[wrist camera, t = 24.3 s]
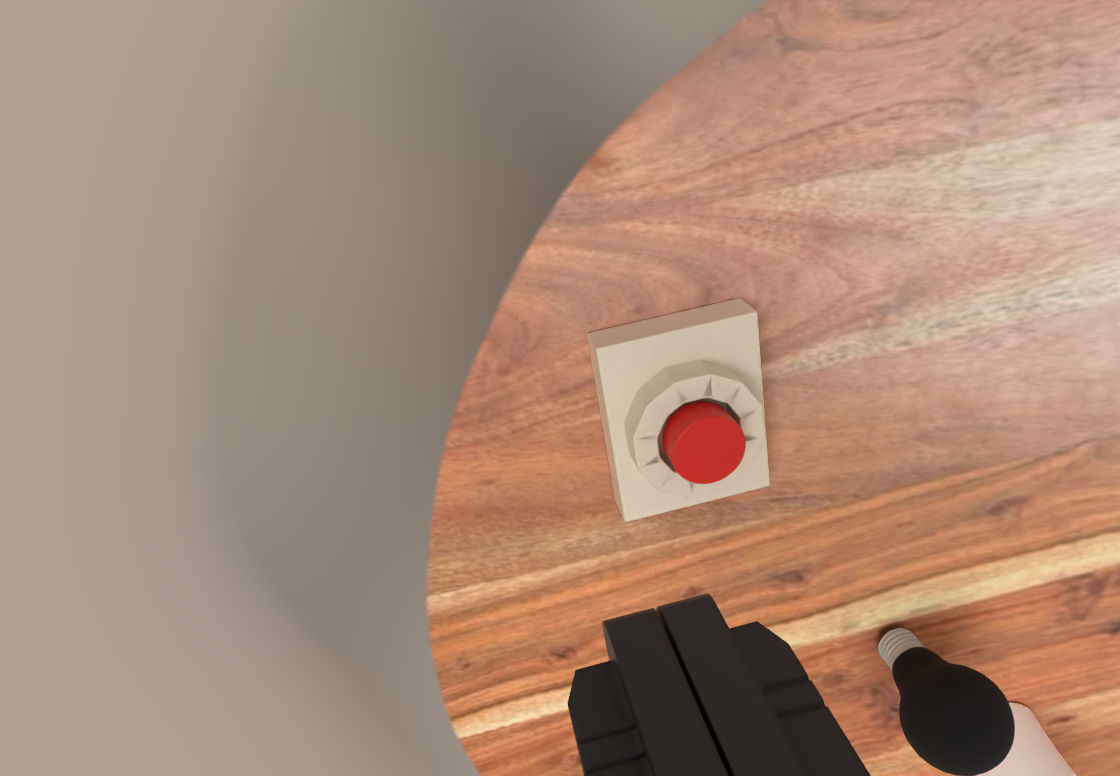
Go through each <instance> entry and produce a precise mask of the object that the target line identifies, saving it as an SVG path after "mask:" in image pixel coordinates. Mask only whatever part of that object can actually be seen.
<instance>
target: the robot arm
mask: <svg viewBox="0 0 1120 776" xmlns="http://www.w3.org/2000/svg"><path fill="white" fill-rule="evenodd" d="M603 630H604V636H605V641H606V646H607V651H608V656H609V661H608V662H604V663H600V664H597V665H593V666H589V667H585V668H582V669H578V670H576V671H575V675H574V679H573V683H572V687H571V692H570V696H569V700H568V708H569V712H570V716H571V721H572V725H573V729H574V734H575V738H576V742H577V747H578V751H579V755H580V760H581V764H582V769H583V773H584V776H870V774H869V772H868V771H867V769H866V768H865V766H864V764H863V763H862V761H861V760H860V758H859V756H858V755H857V753H856V752H855V750H854V748H853V747H852V745H851V744H850V742H849V740H848V739H847V737H846V736H845V734H844V732H843V731H842V729H841V728H840V726H839V724H838V723H837V721H836V719H835V718H834V716H833V715H832V713H831V711H830V710H829V708H828V707H826V706H825V704H824V701H823V699H822V697H821V695H820V694H819V692H818V691H817V689H816V687H815V686H814V684H813V683H812V681H809V679H808V676H807V673H806V671H805V670H804V668H803V667H802V665H801V663H800V662H799V660H798V659H797V657H796V655H795V654H794V652H793V651H792V649H791V647H790V646H789V644H788V643H787V642H785V641H784V640H782V639H781V638H780V637H778V636H777V635H775V634H774V633H773V632H771V631H770V630H769V629H767V628H766V627H764V626H763V625H762V624H760V623H759V622H757V621H756V622H753V623H749V624H745V625H741V626H738V627H734V628H730V629H729V627H728V626H727V624H726V622H725V620H724V618H723V616H722V614H721V613H720V611H719V609H718V607H717V605H716V603H715V602H714V600H713V598H712V597H711V596H710V595H709V594H703V595H700V596H696V597H692V598H688V599H684V600H681V601H677V602H673V603H669V604H665V605H662V606H658V607H657V609H656V610H655V609H654V608H651V609H647V610H643V611H640V612H636V613H632V614H628V615H624V616H621V617H617V618H613V619H609V620H605V621H603Z"/></svg>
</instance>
